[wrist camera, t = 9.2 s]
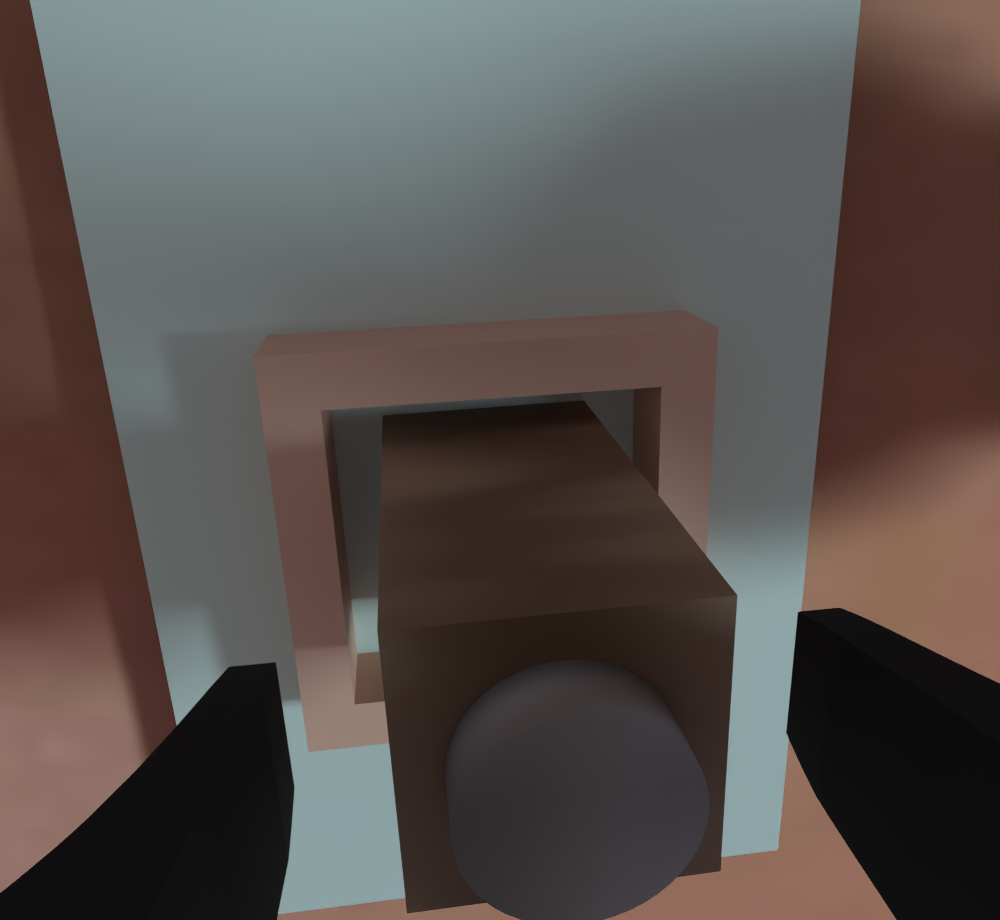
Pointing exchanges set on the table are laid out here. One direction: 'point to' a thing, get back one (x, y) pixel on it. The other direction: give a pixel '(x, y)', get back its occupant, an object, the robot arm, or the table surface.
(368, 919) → the table surface
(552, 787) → the spigot block
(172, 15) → the dock board
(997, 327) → the table surface
